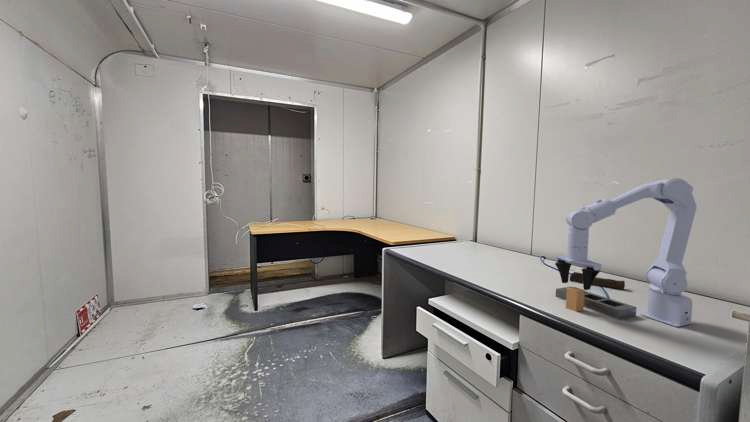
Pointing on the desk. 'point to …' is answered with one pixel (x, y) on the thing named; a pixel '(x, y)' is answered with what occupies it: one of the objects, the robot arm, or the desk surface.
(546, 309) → the desk surface
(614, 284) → the hand tool
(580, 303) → the peg
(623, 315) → the grey slotted block
